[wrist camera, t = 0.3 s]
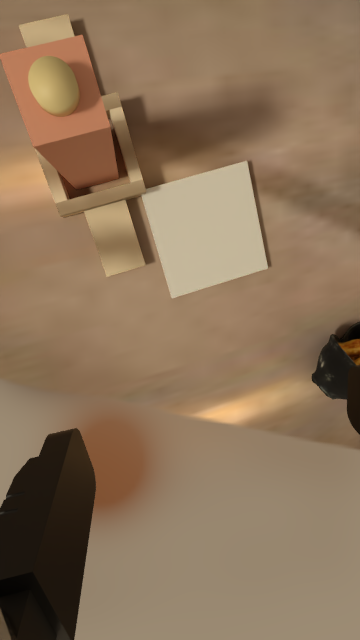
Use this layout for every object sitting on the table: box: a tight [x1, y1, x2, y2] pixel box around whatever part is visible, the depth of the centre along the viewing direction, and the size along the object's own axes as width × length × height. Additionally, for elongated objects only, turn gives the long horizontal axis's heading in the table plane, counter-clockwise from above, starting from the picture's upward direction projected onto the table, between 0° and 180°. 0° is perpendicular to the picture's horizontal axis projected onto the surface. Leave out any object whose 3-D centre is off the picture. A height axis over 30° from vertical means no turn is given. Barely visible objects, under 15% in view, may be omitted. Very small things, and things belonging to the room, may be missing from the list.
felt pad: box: [142, 161, 268, 298], centre depth 34 cm, size 12×12×1 cm
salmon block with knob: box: [0, 35, 119, 190], centre depth 24 cm, size 4×4×16 cm
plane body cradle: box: [19, 14, 146, 277], centre depth 30 cm, size 23×9×2 cm, turn 16°
